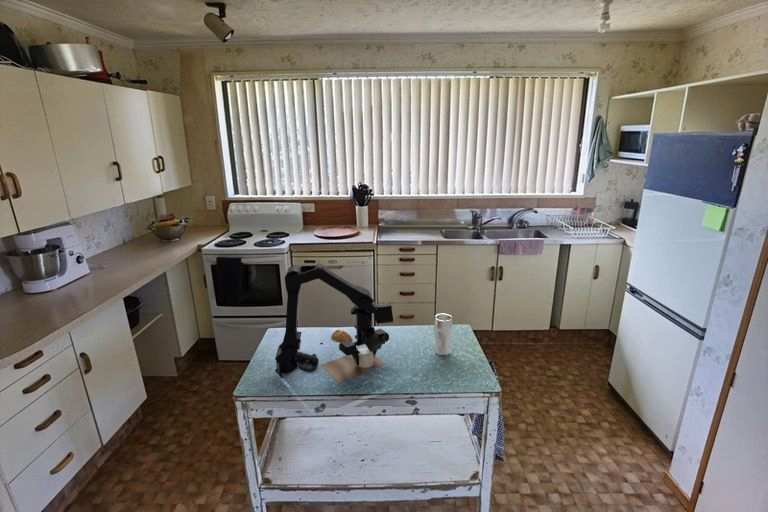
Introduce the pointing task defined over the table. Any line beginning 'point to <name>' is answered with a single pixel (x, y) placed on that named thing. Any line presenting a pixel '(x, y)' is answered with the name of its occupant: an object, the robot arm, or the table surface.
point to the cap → (365, 358)
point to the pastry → (341, 336)
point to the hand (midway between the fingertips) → (365, 361)
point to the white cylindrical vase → (442, 333)
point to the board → (348, 368)
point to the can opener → (307, 361)
